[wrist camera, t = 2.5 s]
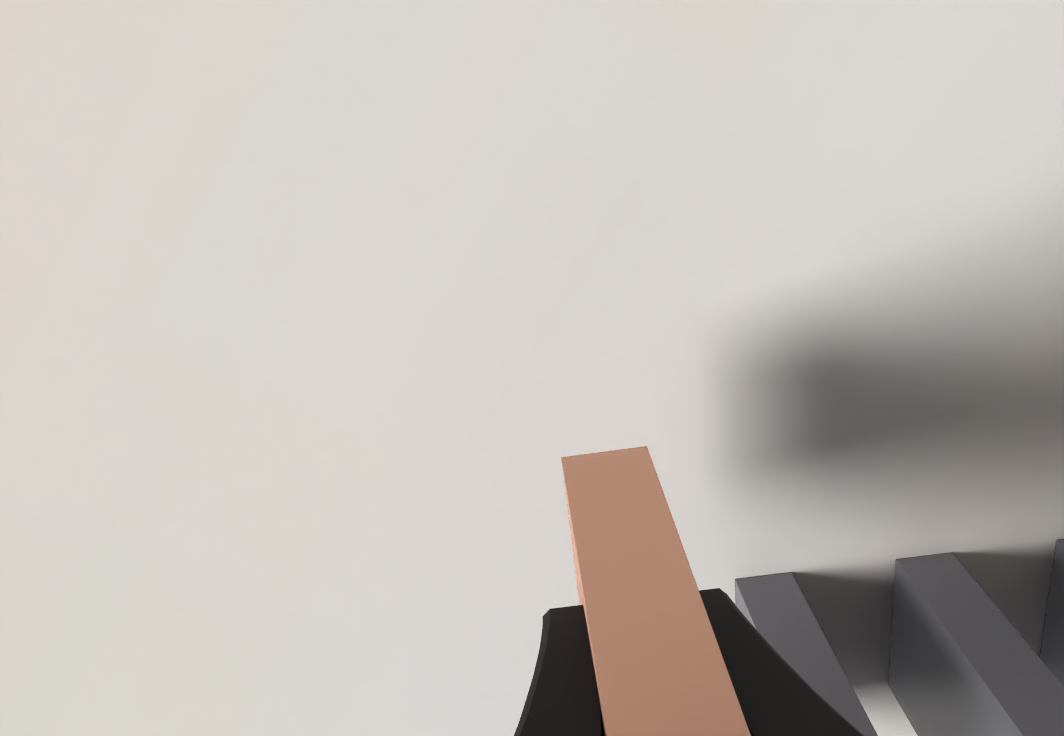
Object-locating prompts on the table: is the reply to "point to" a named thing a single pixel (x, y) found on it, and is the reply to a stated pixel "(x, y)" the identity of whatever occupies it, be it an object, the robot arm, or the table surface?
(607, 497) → the domino
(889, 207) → the table surface
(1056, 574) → the domino
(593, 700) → the robot arm
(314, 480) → the table surface
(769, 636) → the domino
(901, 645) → the domino
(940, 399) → the table surface
